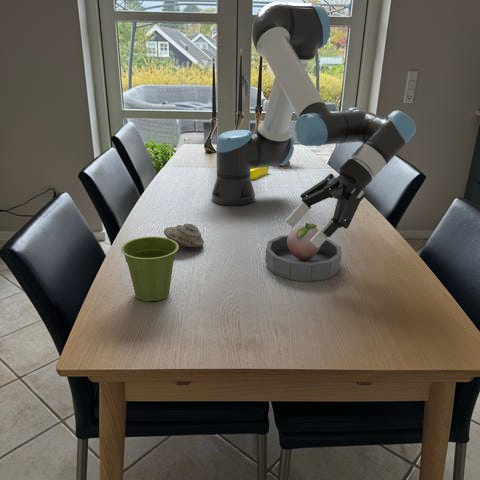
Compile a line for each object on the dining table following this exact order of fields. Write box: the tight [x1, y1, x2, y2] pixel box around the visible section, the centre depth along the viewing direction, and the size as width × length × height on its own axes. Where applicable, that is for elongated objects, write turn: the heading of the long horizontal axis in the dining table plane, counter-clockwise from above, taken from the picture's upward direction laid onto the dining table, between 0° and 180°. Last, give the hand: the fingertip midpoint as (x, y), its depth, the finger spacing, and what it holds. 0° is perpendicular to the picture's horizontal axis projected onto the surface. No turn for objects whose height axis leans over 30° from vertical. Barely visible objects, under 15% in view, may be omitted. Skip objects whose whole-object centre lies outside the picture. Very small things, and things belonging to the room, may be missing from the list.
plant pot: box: [120, 236, 180, 302], centre depth 99 cm, size 12×12×11 cm
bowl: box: [264, 234, 342, 283], centre depth 115 cm, size 18×18×4 cm
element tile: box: [250, 167, 269, 181], centre depth 197 cm, size 15×15×5 cm
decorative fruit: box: [287, 222, 321, 261], centre depth 114 cm, size 9×8×10 cm
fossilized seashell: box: [163, 223, 205, 248], centre depth 125 cm, size 11×11×7 cm
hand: (300, 233), depth 112 cm, fingers open, 13 cm apart
